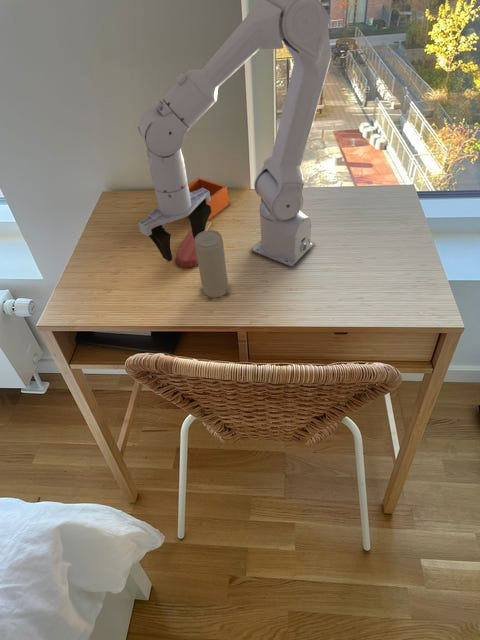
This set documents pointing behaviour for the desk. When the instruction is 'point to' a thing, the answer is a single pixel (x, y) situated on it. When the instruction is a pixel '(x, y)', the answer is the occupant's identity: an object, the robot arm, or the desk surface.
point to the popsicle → (189, 250)
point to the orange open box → (212, 194)
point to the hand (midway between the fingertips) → (183, 249)
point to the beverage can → (211, 263)
